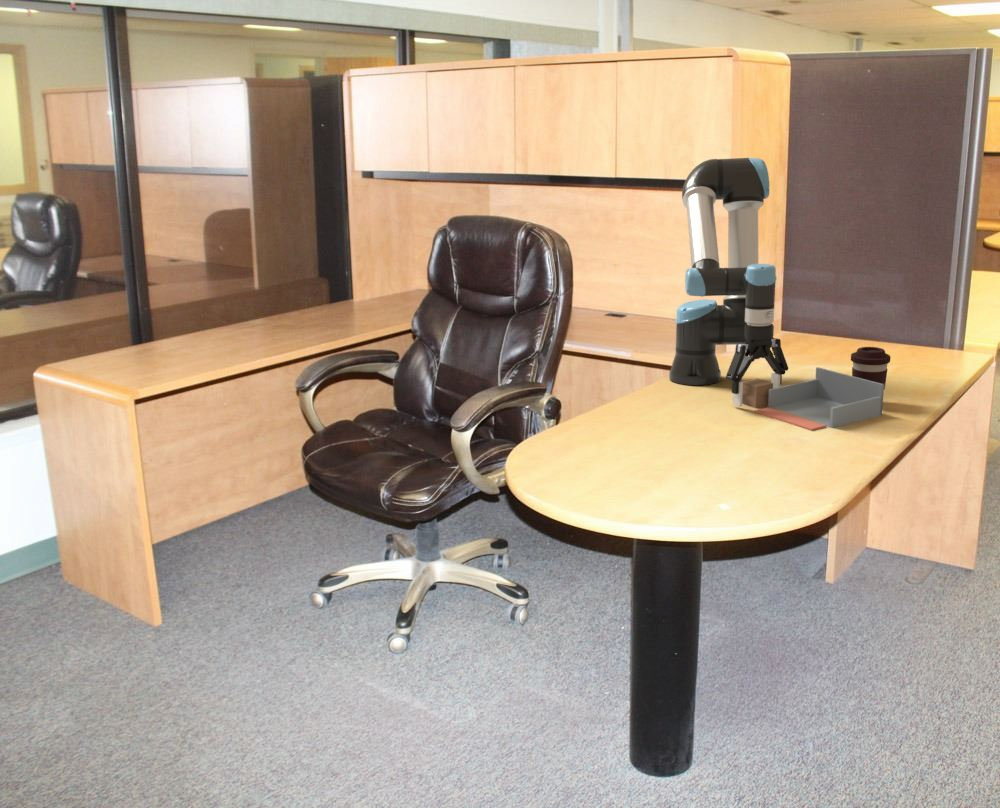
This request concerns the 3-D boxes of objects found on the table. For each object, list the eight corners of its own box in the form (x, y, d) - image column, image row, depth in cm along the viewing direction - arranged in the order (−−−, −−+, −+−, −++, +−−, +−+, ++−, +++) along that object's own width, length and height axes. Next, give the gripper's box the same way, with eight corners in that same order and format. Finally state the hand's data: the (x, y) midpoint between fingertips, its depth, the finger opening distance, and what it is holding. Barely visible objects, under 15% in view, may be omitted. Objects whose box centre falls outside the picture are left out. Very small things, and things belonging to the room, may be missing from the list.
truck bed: (767, 410, 271) (769, 377, 268) (816, 399, 279) (818, 367, 277) (831, 431, 252) (833, 396, 250) (881, 418, 261) (884, 384, 258)
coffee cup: (889, 409, 268) (893, 354, 264) (850, 408, 270) (853, 353, 266) (883, 398, 278) (887, 345, 274) (845, 398, 280) (849, 344, 276)
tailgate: (768, 411, 269) (754, 415, 267) (769, 407, 269) (755, 410, 266) (825, 430, 253) (811, 434, 250) (826, 425, 252) (811, 429, 250)
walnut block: (739, 406, 276) (740, 381, 274) (756, 403, 278) (757, 378, 276) (755, 411, 270) (756, 386, 269) (772, 408, 273) (773, 383, 271)
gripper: (733, 331, 259) (730, 411, 264) (804, 319, 271) (800, 396, 276) (713, 327, 265) (711, 405, 271) (783, 315, 277) (780, 391, 283)
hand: (756, 401), depth 273 cm, fingers open, 13 cm apart
